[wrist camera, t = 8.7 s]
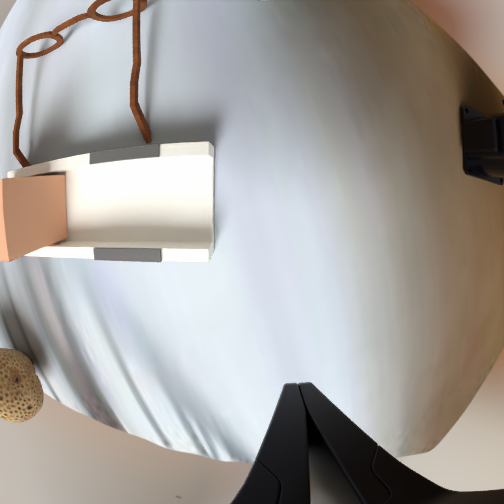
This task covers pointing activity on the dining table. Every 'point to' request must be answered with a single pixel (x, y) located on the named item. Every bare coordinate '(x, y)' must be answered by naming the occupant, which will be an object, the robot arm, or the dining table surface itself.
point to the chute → (136, 203)
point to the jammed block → (31, 214)
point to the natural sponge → (18, 387)
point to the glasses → (138, 6)
